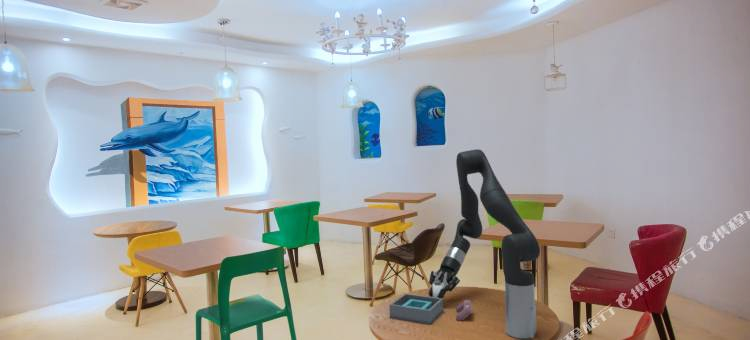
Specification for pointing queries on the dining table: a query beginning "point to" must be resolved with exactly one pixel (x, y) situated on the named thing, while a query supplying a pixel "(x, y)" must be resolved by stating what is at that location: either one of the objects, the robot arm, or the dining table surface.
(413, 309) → the walled box
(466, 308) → the video game controller
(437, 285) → the plug
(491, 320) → the dining table surface
